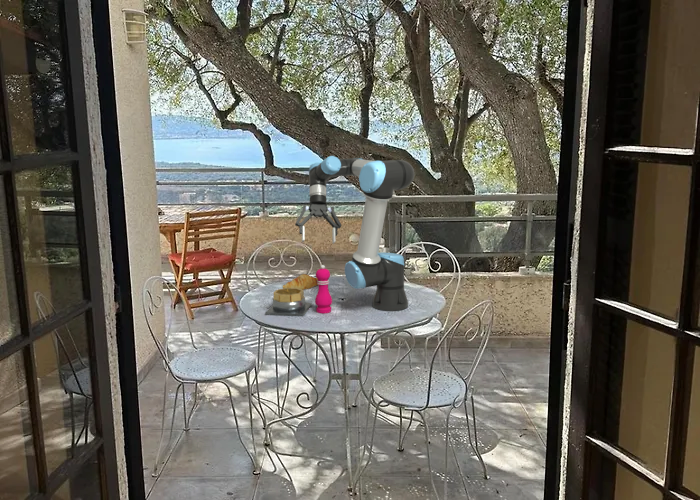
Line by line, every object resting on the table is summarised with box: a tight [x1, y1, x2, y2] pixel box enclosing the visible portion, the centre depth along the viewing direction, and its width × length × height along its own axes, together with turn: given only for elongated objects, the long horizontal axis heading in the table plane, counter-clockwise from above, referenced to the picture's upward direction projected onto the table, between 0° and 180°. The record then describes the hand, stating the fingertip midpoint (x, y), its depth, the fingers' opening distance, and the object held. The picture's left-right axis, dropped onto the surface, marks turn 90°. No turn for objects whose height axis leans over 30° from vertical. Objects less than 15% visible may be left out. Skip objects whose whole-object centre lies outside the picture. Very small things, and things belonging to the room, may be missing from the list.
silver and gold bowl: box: [265, 287, 313, 317], centre depth 262 cm, size 16×16×8 cm
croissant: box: [282, 273, 318, 291], centre depth 300 cm, size 21×10×8 cm, turn 123°
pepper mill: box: [314, 264, 333, 314], centre depth 258 cm, size 7×7×20 cm
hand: (318, 241), depth 268 cm, fingers open, 13 cm apart
